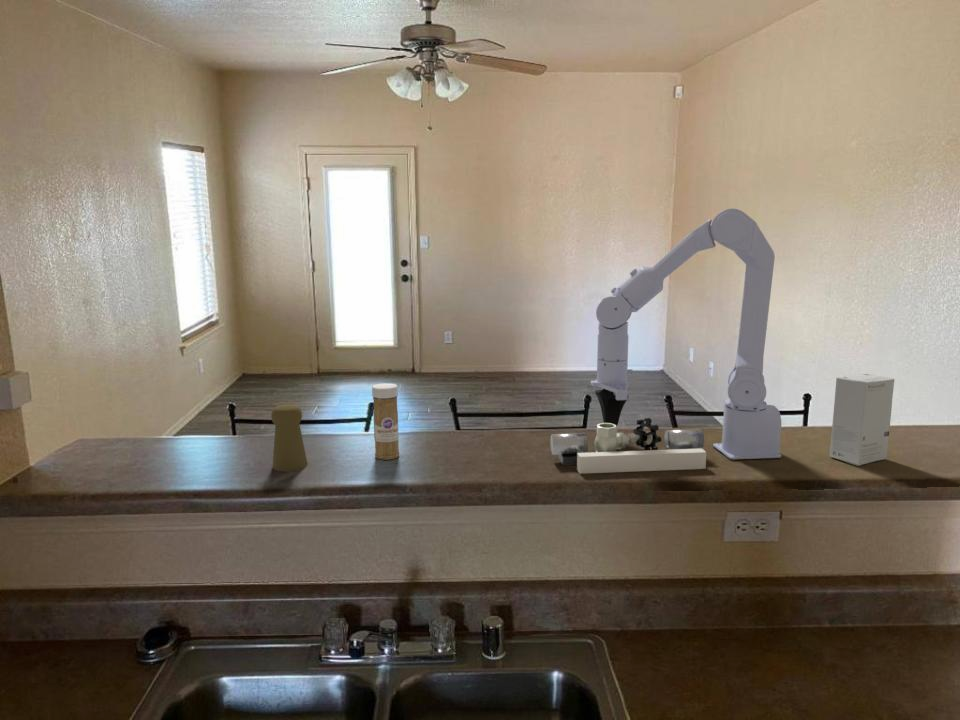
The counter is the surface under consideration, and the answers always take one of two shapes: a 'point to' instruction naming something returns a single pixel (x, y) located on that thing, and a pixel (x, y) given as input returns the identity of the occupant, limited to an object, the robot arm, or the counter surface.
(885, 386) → the skincare box
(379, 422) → the sprinkles bottle
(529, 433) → the counter surface
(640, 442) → the valve
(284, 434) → the cork
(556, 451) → the pipe stubs
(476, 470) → the counter surface
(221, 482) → the counter surface
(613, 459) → the bar
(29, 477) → the counter surface
